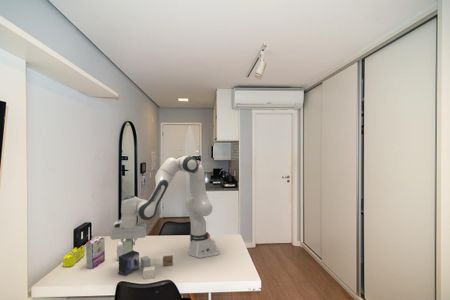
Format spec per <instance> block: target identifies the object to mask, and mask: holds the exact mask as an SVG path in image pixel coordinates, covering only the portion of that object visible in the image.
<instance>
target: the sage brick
mask: <svg viewBox="0 0 450 300" xmlns="http://www.w3.org/2000/svg"><path fill="white" fill-rule="evenodd" d="M124 241H125V242H124V250H132V247H133V248H134V245H132V242H134V238H130V239H124Z"/></svg>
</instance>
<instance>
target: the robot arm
mask: <svg viewBox="0 0 450 300" xmlns="http://www.w3.org/2000/svg"><path fill="white" fill-rule="evenodd" d="M179 171H181V172H184V173H188V175H189V176H188V177H189V192H190V194H191V195H192V197H188V198H187V199H186V202H185V203H184V204H185V208H186V211H187V212H188V216H189V221H190V233H189V240H190V243H189V249H188V255H189V256H192V257H196V258H198V259H202V258H208V257H209V258H210V257H213V256H219V255H220V253H221V252H220V250H221V249H220V248H219V247H218V246H217V243H216V241H215V240H214V239H213V238H211V235H210V233H209V232H208V231H207V221H206V219H205V218H204V217H208V216H210V215H211V213H212V211H213V205H212V203H211V202H210V200H209V198H208V195H207V190H206V177H205V175H206V174H205V169H204V167H203V165H201V164H199V163H198V161H197V159H196V158H195V157H194V156H190V155H180V156H178V157H176V158H175V157H167V158H166V160H165V161H164V162H163V163H162V164H161V165H160V166H159V169H158V170H157V172H156V174H155V176H154V181H155V188H154V190H153V192H152V193H151V196H150V197H149V198H148V200H147V199H142V198H140V197H137V196H135V195H128V196H125V197H124V198H123V199H122V200H121V206H120V207H121V208H120V213H121V217H120V219H119V220H116V221H115V222H113V224H112V229H111V231H110V239H111V240H112V241H113V240H114V241H115V240H120V242H122V243H123V246H124V241H125V240H126V239H130V238H133V242H132V245H133V246H136V241H137V239H142V238H145V237H147V228H148V227H147V226H148V225H147V223H146V222H144V221H149V220H152V219H154V217H155V216H156V214H157V210H158V206H159V204H160V202H161V201H162V198H163V196H164V195H165V193H166V191H167V189H168V187H169V185H170V184H171V182H172V180H173V179H174V177H175V176H176V174H177V173H178V172H179ZM138 216H139V218H140V219H141V220H143V221H141V222H140V221H139V222H138V221H137V220H138V219H137V218H138Z"/></svg>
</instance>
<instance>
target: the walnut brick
mask: <svg viewBox="0 0 450 300" xmlns="http://www.w3.org/2000/svg"><path fill="white" fill-rule="evenodd" d="M173 257H174V255H163V256H162V267H172V266H173V263H174V261H173Z"/></svg>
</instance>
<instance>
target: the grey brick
mask: <svg viewBox="0 0 450 300" xmlns="http://www.w3.org/2000/svg"><path fill="white" fill-rule="evenodd" d="M140 267H142V268H143V269H144V267H151V258H150V257H149V256H148V255H145V256H141V257H140Z"/></svg>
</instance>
